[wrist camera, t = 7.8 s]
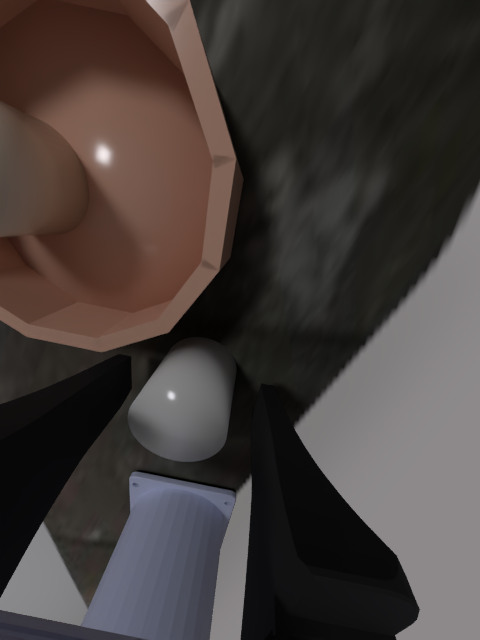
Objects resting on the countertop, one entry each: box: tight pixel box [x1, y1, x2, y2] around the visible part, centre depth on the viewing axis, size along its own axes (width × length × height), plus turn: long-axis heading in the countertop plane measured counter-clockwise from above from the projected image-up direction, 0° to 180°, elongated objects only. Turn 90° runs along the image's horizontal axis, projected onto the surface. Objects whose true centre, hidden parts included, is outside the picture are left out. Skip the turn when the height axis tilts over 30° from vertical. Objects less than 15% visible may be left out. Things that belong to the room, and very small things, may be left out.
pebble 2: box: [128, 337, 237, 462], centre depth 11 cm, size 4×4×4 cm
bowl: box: [0, 0, 243, 352], centre depth 8 cm, size 11×11×3 cm
